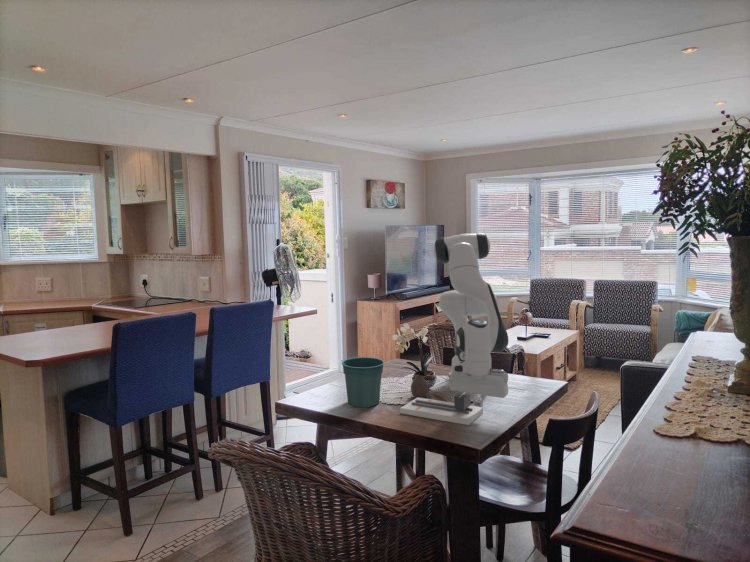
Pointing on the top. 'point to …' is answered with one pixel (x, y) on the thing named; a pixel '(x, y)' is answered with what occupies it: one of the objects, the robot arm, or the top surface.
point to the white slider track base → (441, 411)
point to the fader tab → (462, 401)
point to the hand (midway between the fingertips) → (478, 406)
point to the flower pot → (363, 380)
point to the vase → (419, 387)
